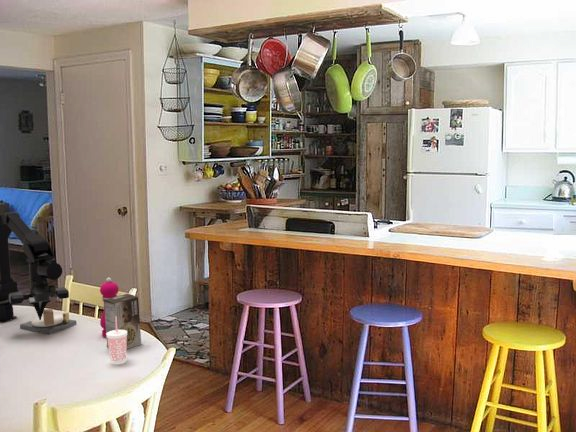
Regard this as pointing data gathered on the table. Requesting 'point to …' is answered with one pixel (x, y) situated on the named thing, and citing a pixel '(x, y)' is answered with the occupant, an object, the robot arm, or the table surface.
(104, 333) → the pepper mill
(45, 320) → the flange
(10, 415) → the table surface
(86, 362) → the table surface
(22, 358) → the table surface
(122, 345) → the beverage cup
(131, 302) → the coffee box
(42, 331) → the base plate
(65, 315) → the gold rounded piece
